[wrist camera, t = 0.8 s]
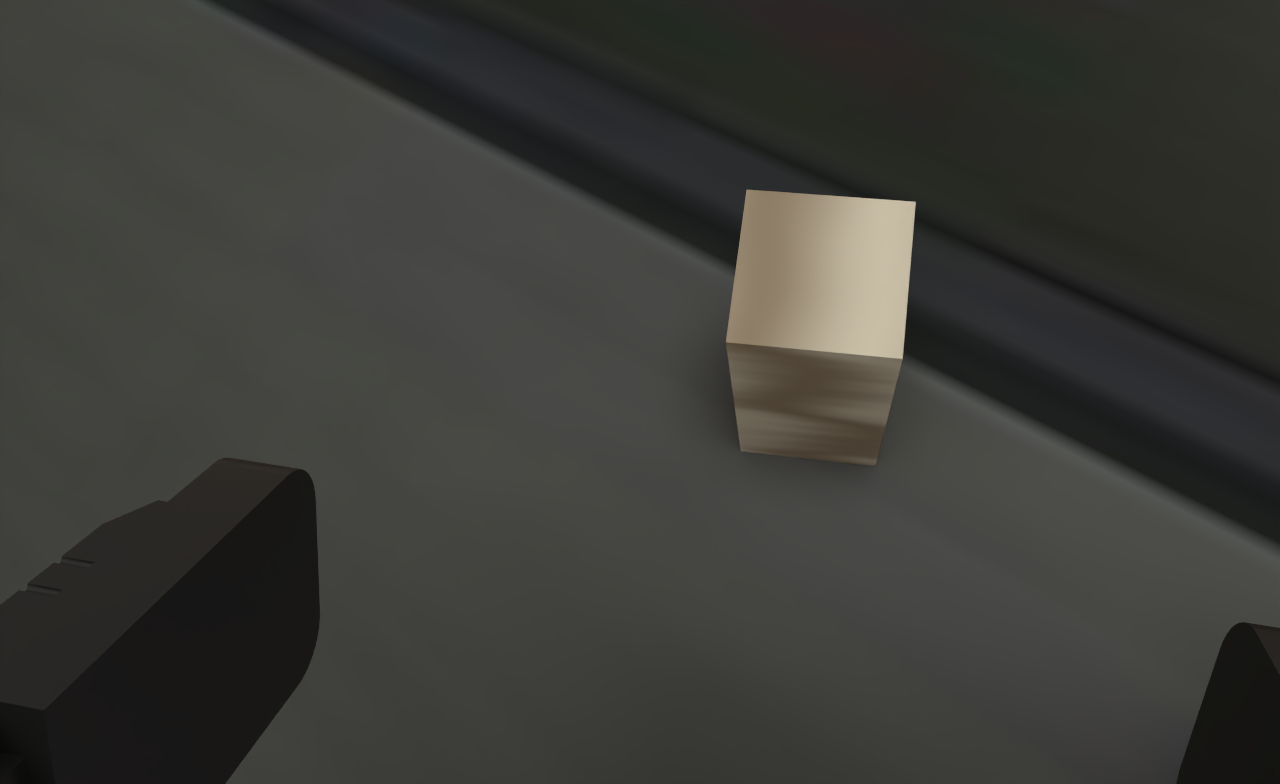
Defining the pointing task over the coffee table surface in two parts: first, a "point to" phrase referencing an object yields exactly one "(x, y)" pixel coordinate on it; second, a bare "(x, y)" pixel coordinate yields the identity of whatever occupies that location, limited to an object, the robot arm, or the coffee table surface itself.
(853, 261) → the birch block
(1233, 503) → the coffee table surface
